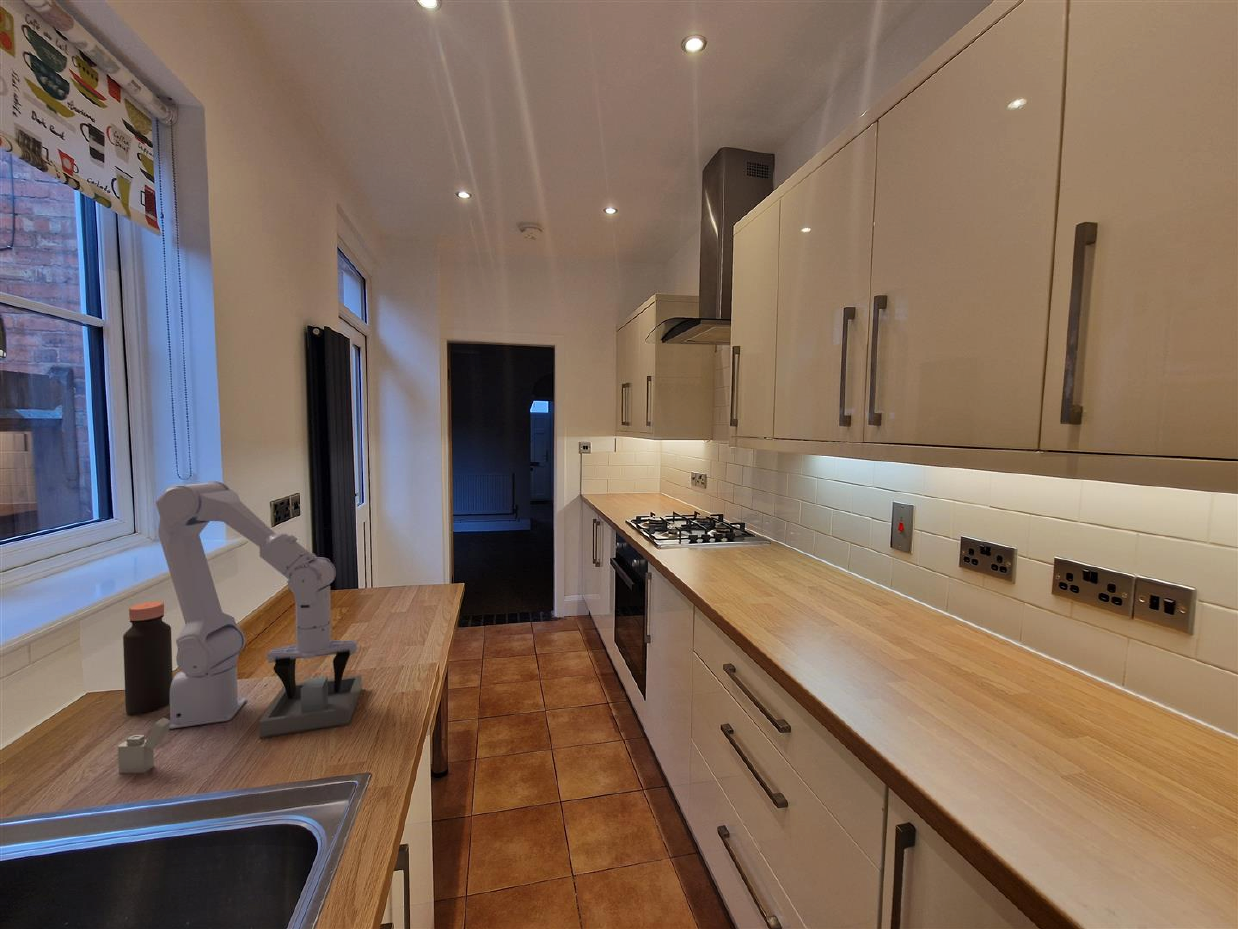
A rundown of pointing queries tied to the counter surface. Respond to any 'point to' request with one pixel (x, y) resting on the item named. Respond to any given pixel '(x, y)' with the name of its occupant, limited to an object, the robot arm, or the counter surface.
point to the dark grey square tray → (290, 720)
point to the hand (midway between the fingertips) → (315, 693)
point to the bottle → (147, 659)
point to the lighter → (141, 749)
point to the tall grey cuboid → (314, 694)
